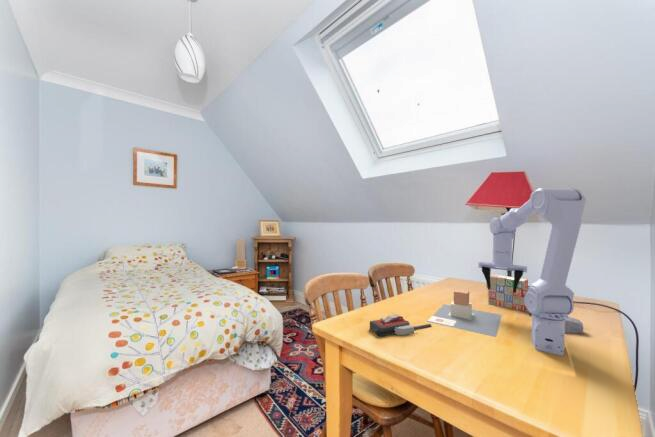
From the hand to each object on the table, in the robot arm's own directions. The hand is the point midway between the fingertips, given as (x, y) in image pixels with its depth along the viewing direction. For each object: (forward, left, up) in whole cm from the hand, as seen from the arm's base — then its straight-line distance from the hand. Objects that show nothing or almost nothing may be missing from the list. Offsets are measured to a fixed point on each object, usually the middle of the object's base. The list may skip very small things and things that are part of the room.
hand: (501, 290), depth 99 cm
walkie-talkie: (-31, +26, -11) cm, 42 cm away
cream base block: (-6, +12, -10) cm, 16 cm away
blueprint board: (-9, +10, -10) cm, 17 cm away
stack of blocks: (+17, -5, -11) cm, 21 cm away
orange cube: (-6, +12, -6) cm, 14 cm away
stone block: (+4, -15, -11) cm, 19 cm away
